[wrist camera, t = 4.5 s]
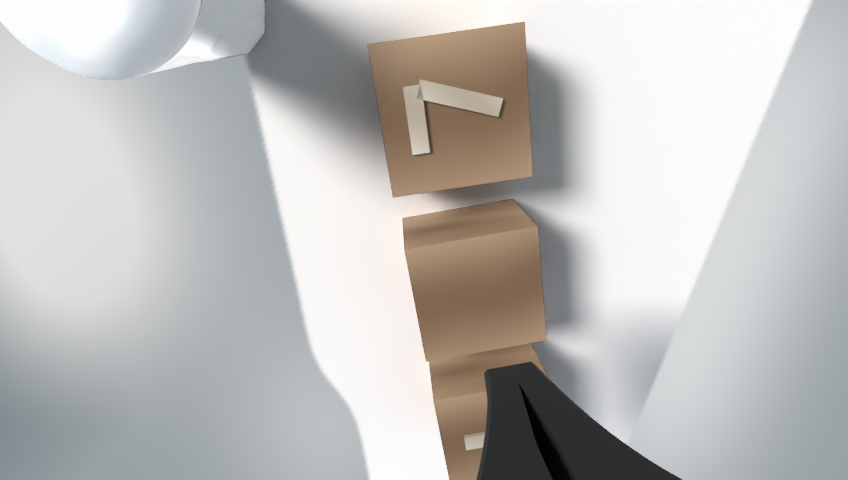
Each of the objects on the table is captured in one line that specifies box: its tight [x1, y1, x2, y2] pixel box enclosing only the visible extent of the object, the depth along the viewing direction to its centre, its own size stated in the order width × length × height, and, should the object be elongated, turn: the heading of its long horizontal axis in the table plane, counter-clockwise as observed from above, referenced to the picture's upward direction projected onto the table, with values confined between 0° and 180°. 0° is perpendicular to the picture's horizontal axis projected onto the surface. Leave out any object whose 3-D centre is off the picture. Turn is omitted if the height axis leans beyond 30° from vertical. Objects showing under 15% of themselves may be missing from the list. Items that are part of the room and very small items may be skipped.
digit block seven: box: [368, 22, 533, 197], centre depth 17 cm, size 5×5×4 cm
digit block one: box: [429, 343, 548, 480], centre depth 22 cm, size 5×5×4 cm
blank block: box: [403, 199, 547, 362], centre depth 19 cm, size 5×5×4 cm
